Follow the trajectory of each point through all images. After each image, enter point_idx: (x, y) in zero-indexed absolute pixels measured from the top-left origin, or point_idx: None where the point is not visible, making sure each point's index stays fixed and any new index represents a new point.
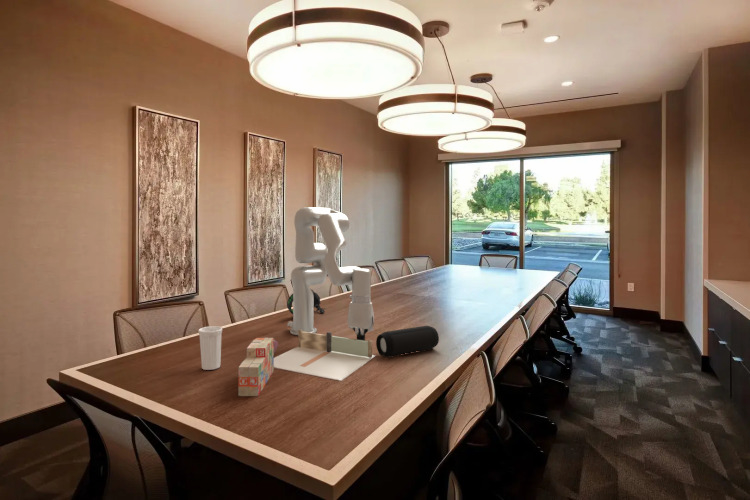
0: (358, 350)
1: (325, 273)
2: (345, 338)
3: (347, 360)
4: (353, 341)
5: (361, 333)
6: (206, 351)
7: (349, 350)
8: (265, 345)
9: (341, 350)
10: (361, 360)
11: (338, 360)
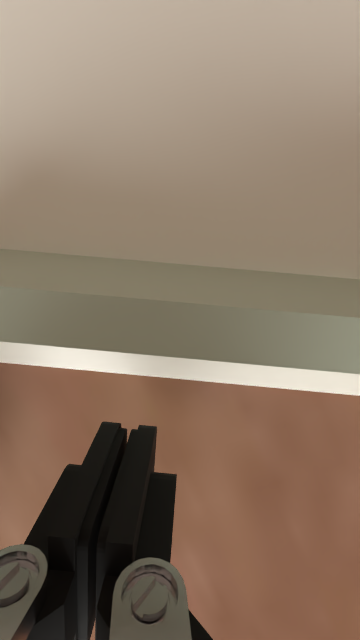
0: (75, 264)
1: None
2: (340, 324)
3: (160, 78)
4: (130, 288)
5: (29, 593)
6: None
7: (212, 270)
8: None
9: (328, 280)
10: (13, 150)
11: (266, 27)
